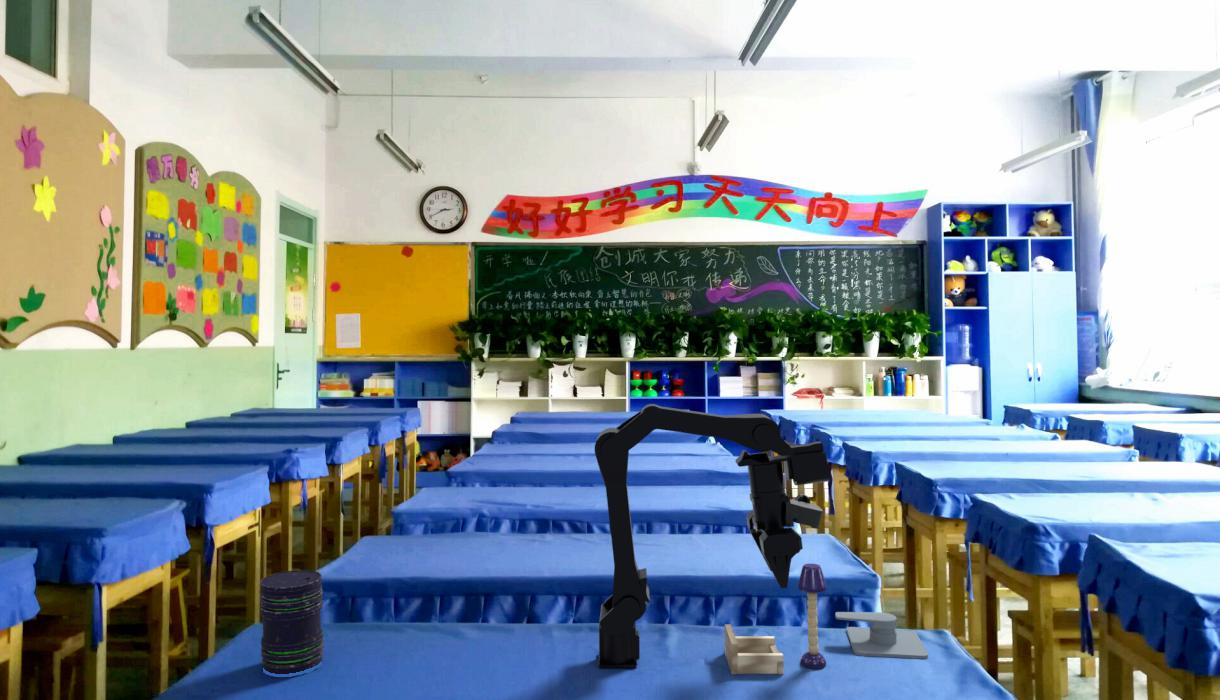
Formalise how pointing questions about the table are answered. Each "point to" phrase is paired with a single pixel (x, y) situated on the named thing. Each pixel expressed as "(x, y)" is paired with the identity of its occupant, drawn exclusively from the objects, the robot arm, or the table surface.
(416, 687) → the table surface
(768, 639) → the birch bracket
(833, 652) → the table surface
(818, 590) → the toy lamp
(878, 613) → the shower valve
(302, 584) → the storage jar
